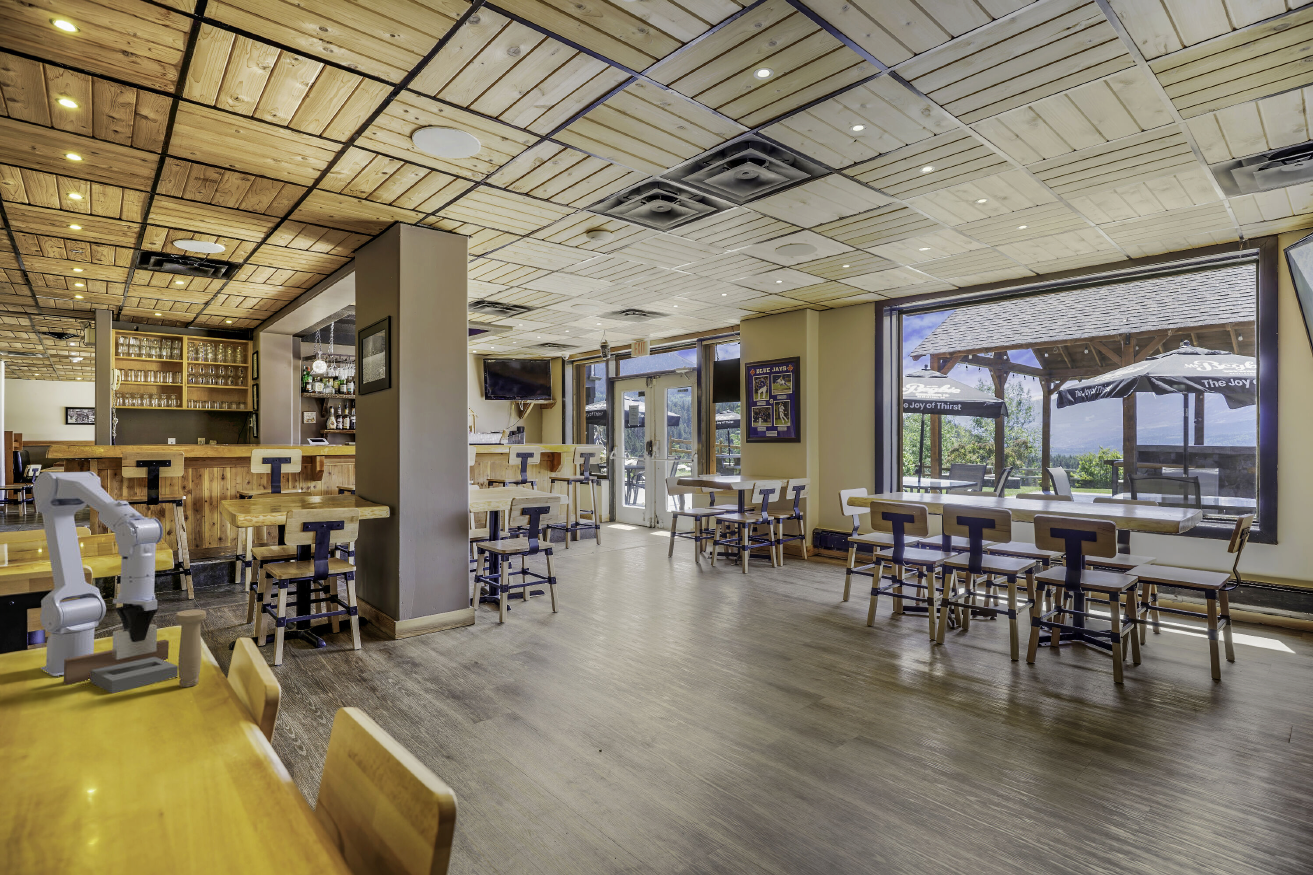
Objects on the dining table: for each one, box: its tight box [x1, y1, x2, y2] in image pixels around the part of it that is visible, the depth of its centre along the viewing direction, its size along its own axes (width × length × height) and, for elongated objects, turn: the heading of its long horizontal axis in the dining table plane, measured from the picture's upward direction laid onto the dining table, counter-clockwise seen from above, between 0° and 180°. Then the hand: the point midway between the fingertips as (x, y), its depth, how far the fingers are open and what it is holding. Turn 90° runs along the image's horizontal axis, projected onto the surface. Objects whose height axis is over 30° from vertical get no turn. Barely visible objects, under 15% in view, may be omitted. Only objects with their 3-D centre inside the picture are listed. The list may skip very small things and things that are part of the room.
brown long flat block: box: [63, 639, 170, 686], centre depth 144 cm, size 2×18×5 cm, turn 147°
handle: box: [175, 609, 207, 688], centre depth 137 cm, size 5×6×15 cm
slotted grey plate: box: [89, 657, 179, 694], centre depth 140 cm, size 12×11×2 cm
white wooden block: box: [112, 623, 158, 660], centre depth 140 cm, size 2×7×6 cm, turn 148°
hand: (135, 639), depth 140 cm, fingers closed on white wooden block, 2 cm apart
